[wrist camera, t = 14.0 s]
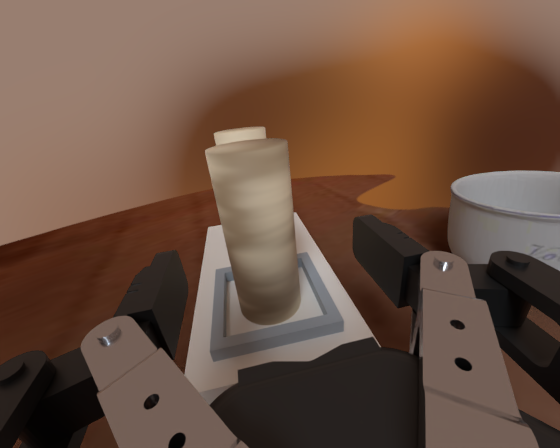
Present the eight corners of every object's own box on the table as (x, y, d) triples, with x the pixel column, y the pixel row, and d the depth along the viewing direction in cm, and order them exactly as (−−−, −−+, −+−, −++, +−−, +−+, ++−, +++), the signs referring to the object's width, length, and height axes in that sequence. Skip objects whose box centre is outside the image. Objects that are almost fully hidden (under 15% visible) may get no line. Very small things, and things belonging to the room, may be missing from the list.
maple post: (227, 307, 20) (188, 152, 15) (268, 274, 23) (247, 138, 18) (273, 336, 17) (244, 156, 12) (312, 294, 20) (303, 138, 15)
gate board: (379, 363, 16) (403, 146, 10) (187, 412, 15) (86, 192, 9) (296, 221, 36) (288, 119, 30) (210, 237, 34) (184, 132, 28)
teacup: (527, 333, 17) (576, 228, 13) (411, 252, 27) (423, 178, 23) (666, 282, 20) (737, 183, 16) (515, 225, 29) (540, 155, 26)
